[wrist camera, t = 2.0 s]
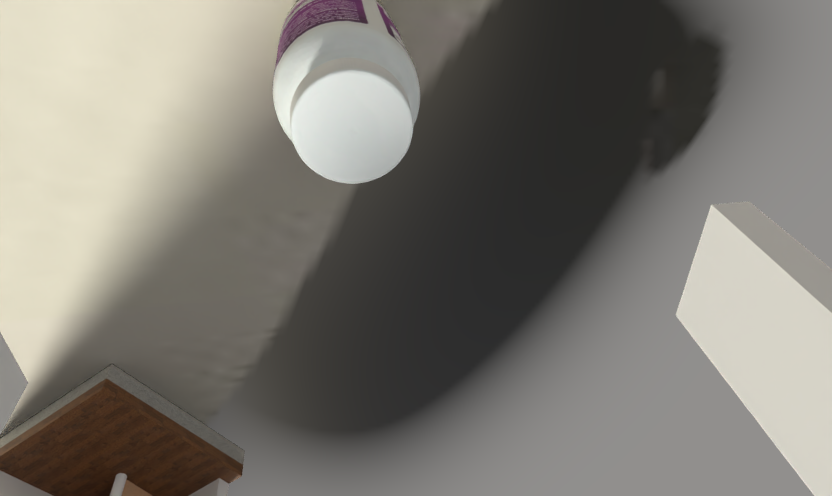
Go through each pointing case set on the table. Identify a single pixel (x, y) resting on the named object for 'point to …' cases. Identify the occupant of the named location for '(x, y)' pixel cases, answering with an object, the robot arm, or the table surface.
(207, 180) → the table surface
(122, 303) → the table surface
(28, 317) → the table surface
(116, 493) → the white notched tower
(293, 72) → the pill bottle
